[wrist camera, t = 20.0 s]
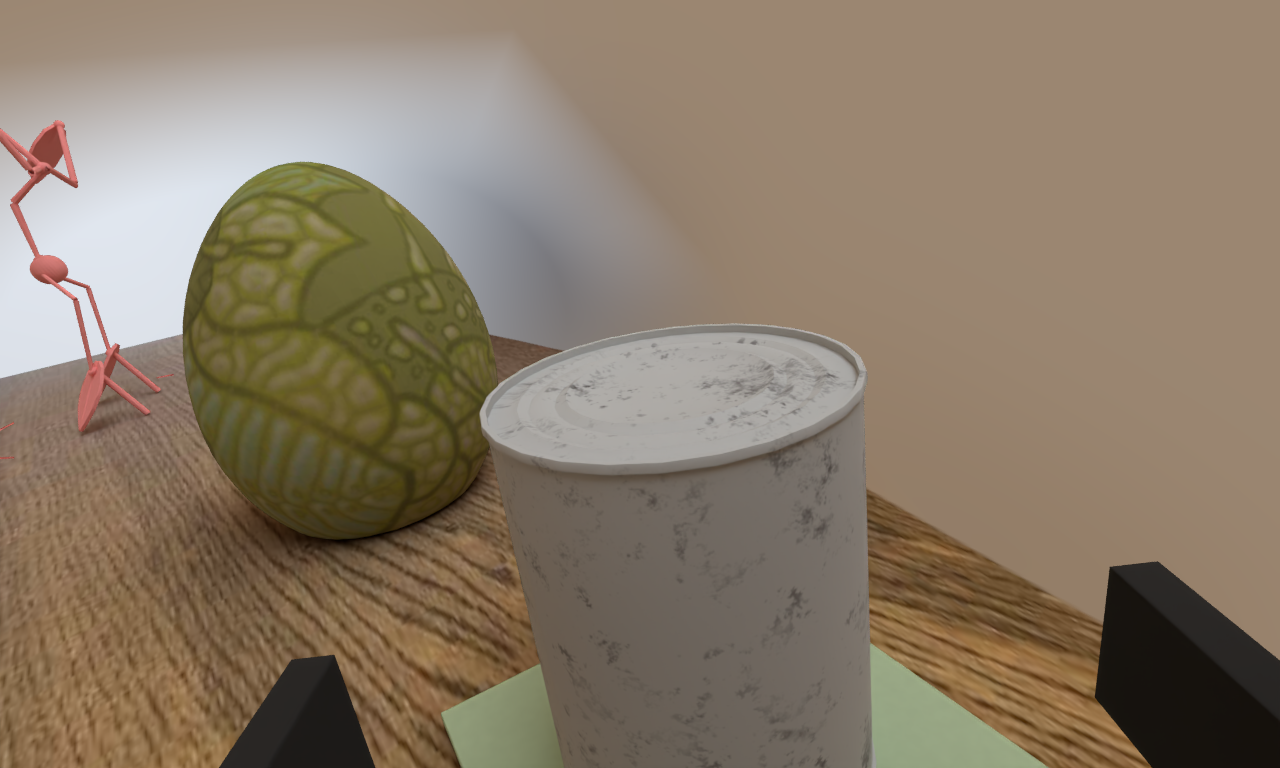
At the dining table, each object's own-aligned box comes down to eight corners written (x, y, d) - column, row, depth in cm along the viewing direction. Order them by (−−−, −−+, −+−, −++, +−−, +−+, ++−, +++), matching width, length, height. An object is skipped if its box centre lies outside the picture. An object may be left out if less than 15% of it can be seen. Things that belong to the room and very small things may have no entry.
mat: (749, 569, 30) (748, 557, 30) (1073, 801, 19) (1075, 785, 18) (444, 725, 24) (440, 712, 24) (639, 1217, 12) (635, 1199, 12)
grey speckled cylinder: (694, 1000, 15) (612, 522, 11) (513, 734, 23) (425, 394, 18) (945, 753, 20) (954, 356, 16) (726, 602, 27) (693, 309, 23)
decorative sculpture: (180, 558, 38) (24, 197, 32) (373, 435, 53) (294, 168, 46) (414, 586, 33) (284, 152, 26) (560, 439, 47) (501, 135, 40)
